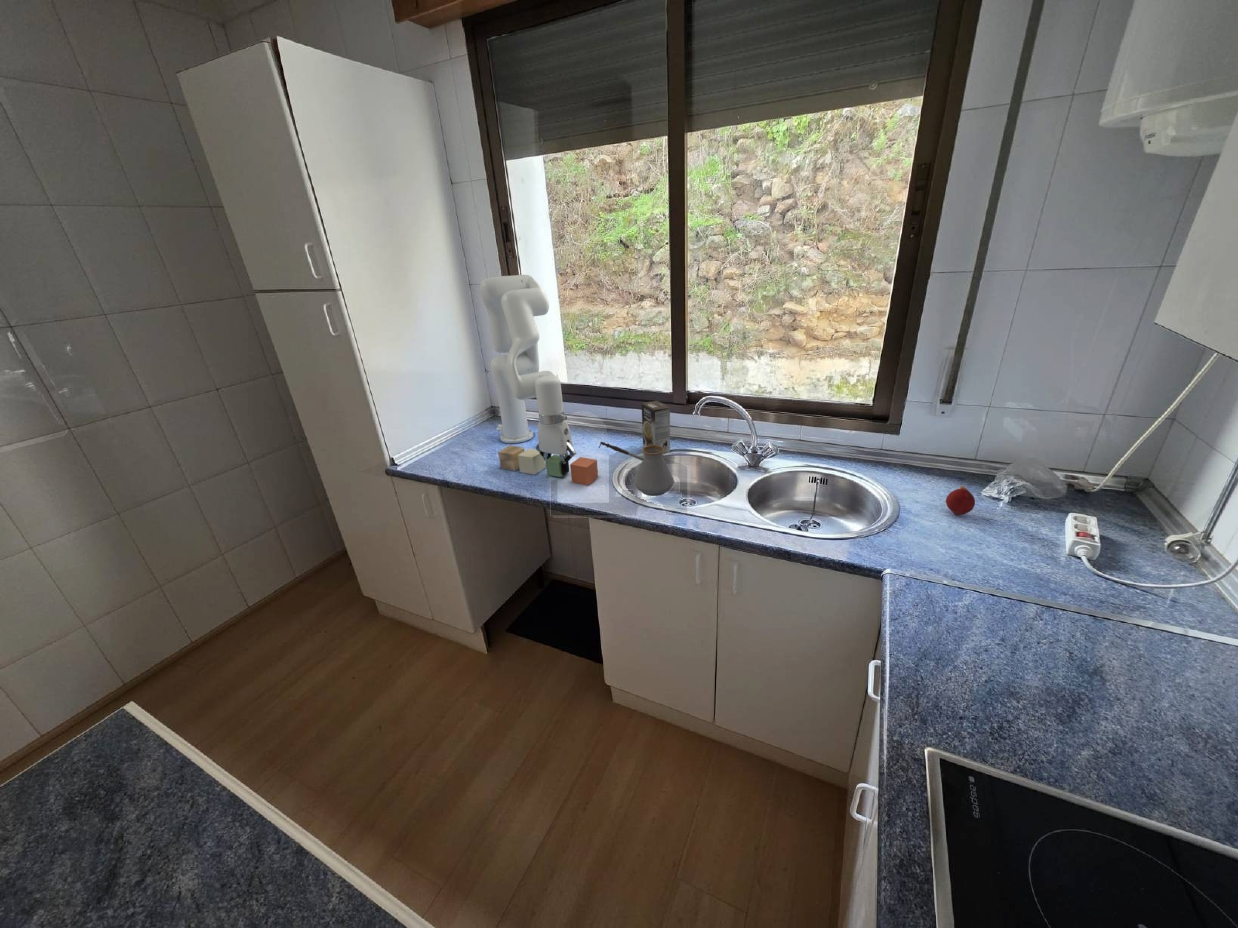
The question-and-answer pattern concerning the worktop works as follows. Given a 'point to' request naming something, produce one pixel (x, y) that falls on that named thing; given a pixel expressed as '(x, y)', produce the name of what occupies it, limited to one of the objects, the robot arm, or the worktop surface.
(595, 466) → the block
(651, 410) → the coffee box
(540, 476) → the worktop surface
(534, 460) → the block
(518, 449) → the block
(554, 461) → the green block
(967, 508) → the onion
